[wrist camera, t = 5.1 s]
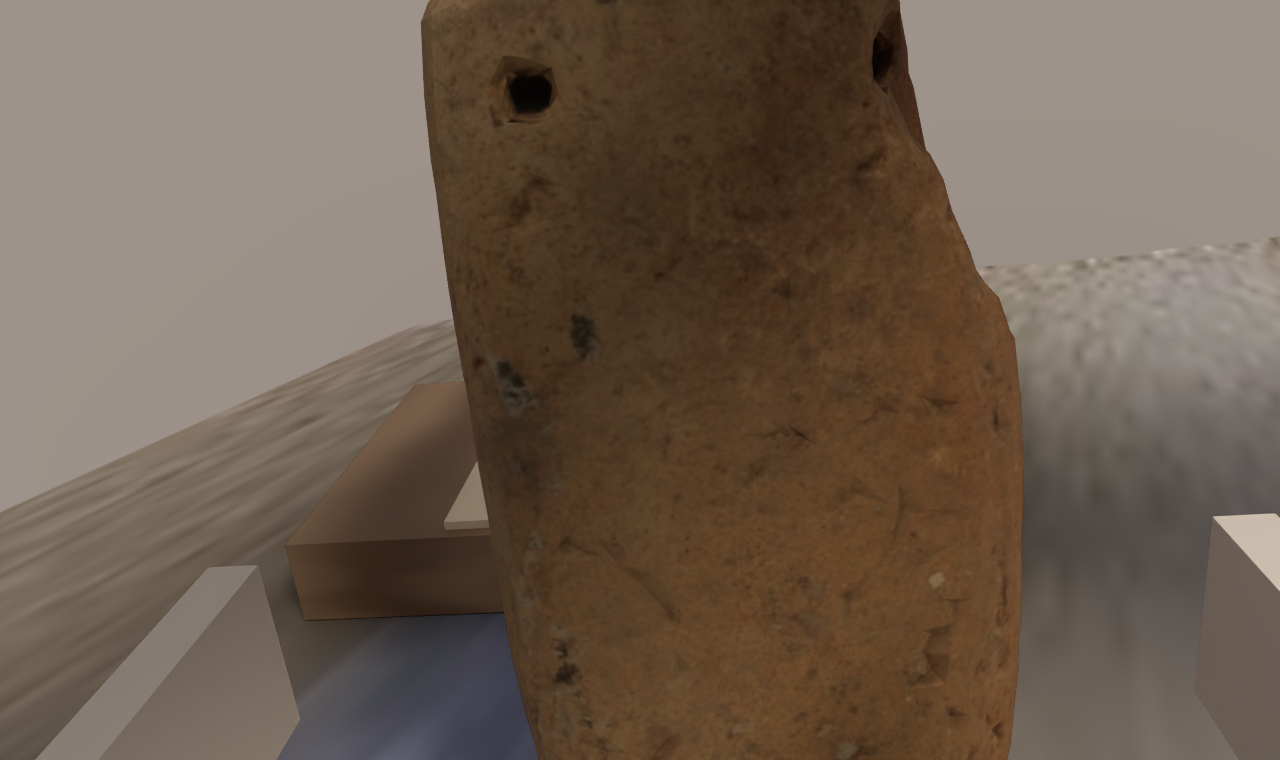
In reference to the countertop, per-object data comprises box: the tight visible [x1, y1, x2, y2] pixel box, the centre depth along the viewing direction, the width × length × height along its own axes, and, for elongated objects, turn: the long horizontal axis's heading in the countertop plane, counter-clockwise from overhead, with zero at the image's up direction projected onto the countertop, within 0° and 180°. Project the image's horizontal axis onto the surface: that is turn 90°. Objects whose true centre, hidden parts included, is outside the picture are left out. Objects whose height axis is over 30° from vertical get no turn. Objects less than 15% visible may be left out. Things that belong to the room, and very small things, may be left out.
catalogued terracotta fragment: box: [421, 0, 1024, 760], centre depth 22 cm, size 11×8×20 cm
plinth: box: [285, 381, 504, 620], centre depth 41 cm, size 22×15×3 cm
